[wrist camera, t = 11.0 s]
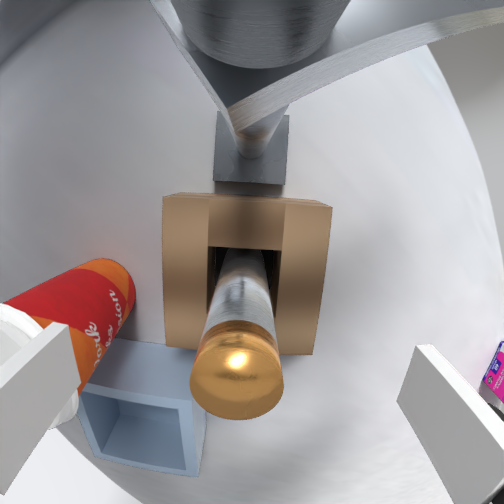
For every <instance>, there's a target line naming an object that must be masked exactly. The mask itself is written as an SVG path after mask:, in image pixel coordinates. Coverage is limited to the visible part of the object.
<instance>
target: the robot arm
mask: <svg viewBox="0 0 504 504" xmlns="http://www.w3.org/2000/svg"><path fill="white" fill-rule="evenodd" d="M80 384H81V380H80V376H79V372H78V368H77V364H76V360H75V355H74V351H73V346H72V342H71V337H70V332H69V326H68V325H66V324H61V323H56V322H52V323H51V324H50V325H49V326H47V327H46V328H45V329H44V330H43V331H41V332H40V333H39V334H38V335H37V336H35V337H34V338H33V339H32V340H31V341H30V342H28V343H27V344H26V345H25V346H24V347H22V348H21V349H20V350H19V351H18V352H17V353H16V354H14V355H13V356H12V357H11V358H10V359H9V360H8V361H6V362H5V363H4V364H3V365H2V366H1V367H0V494H2V495H5V493H6V491H7V490H8V488H9V487H10V485H11V483H12V482H13V480H14V479H15V477H16V476H17V474H18V472H19V471H20V469H21V468H22V466H23V465H24V463H25V462H26V460H27V459H28V457H29V456H30V454H31V453H32V451H33V450H34V448H35V447H36V445H37V444H38V442H39V441H40V439H41V438H42V437H43V435H44V434H45V432H46V431H47V429H48V428H49V427H50V425H51V424H52V422H53V421H54V419H55V418H56V417H57V415H58V414H59V412H60V411H61V410H62V408H63V407H64V406H65V404H66V403H67V401H68V400H69V399H70V397H71V396H72V395H73V393H74V392H75V391H76V389H77V388H78V386H79V385H80ZM397 403H398V404H399V406H400V408H401V410H402V411H403V413H404V415H405V416H406V418H407V420H408V421H409V423H410V425H411V427H412V428H413V430H414V432H415V434H416V435H417V437H418V439H419V440H420V442H421V444H422V446H423V448H424V449H425V451H426V453H427V455H428V456H429V458H430V460H431V462H432V464H433V465H434V467H435V469H436V471H437V473H438V475H439V476H440V478H441V480H442V482H443V484H444V486H445V488H446V489H447V491H448V493H449V495H450V497H451V499H452V501H453V503H454V504H489V503H490V502H492V503H493V504H504V414H503V413H502V412H501V411H500V410H499V409H498V408H496V407H494V406H493V405H491V404H490V403H486V402H485V401H484V399H483V398H482V397H481V396H480V395H479V394H478V393H477V392H476V391H475V390H474V388H473V387H472V386H471V385H470V384H469V383H468V382H467V381H466V380H465V379H464V378H463V377H462V376H461V374H460V373H459V372H458V371H457V370H456V369H455V368H454V367H453V366H452V365H451V364H450V363H449V362H448V361H447V360H446V359H445V358H444V357H443V356H442V355H441V354H440V353H439V352H438V351H437V349H436V348H435V347H434V346H433V345H432V344H426V345H416V346H415V350H414V353H413V356H412V359H411V362H410V365H409V368H408V371H407V374H406V377H405V379H404V382H403V385H402V388H401V390H400V393H399V395H398V398H397Z"/></svg>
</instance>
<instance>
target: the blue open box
mask: <svg viewBox="0 0 504 504" xmlns="http://www.w3.org/2000/svg"><path fill="white" fill-rule="evenodd" d="M196 354H197V350H194V349H184V348H174V347H166V345H165V344H156V343H148V342H141V341H134V340H127V339H120V338H114V339H113V341H112V342H111V344H110V345H109V347H108V349H107V350H106V352H105V354H104V355H103V357H102V358H101V360H100V362H99V363H98V365H97V367H96V368H95V370H94V372H93V373H92V375H91V377H90V378H89V380H88V382H87V383H86V385H85V387H84V389H83V390H82V392H81V394H80V396H79V397H78V398H79V404H78V409H77V414H78V417H79V420H80V422H81V425H82V428H83V430H84V433H85V435H86V437H87V440H88V442H89V445H90V447H91V449H92V451H93V454H94V456H95V457H98V458H101V459H105V460H109V461H112V462H116V463H120V464H124V465H128V466H133V467H137V468H142V469H147V470H152V471H157V472H163V473H169V474H176V475H182V476H190V477H199V470H200V464H201V457H202V451H203V444H204V438H205V431H206V410H204V409H203V408H202V407H201V406H200V405H199V404H198V403H197V402H196V401H195V399H194V398H193V396H192V394H191V391H190V386H189V380H190V375H191V371H192V368H193V364H194V361H195V357H196Z"/></svg>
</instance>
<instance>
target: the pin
mask: <svg viewBox="0 0 504 504" xmlns="http://www.w3.org/2000/svg"><path fill="white" fill-rule="evenodd" d="M189 386H190V391H191V394H192V396H193V398H194V399H195V401H196V402H197V403H198V404H199V405H200V406H201V407H202V408H203V409H204V410H206V411H207V412H209V413H211V414H213V415H215V416H218V417H221V418H224V419H230V420H247V419H252V418H256V417H259V416H261V415H263V414H265V413H267V412H268V411H270V410H271V409H272V408H273V407H275V406H276V404H277V403H278V402H279V400H280V399H281V396H282V393H283V388H284V384H283V376H282V370H281V364H280V357H279V351H278V344H277V338H276V332H275V325H274V319H273V313H272V307H271V300H270V294H269V288H268V282H267V276H266V270H265V264H264V257H263V254H262V252H261V251H260V249H248V248H231V247H230V248H229V250H228V251H227V253H226V255H225V258H224V262H223V265H222V268H221V272H220V275H219V278H218V282H217V285H216V288H215V292H214V295H213V298H212V302H211V305H210V309H209V312H208V315H207V319H206V322H205V326H204V329H203V333H202V336H201V340H200V343H199V347H198V350H197V354H196V357H195V361H194V364H193V368H192V371H191V375H190V380H189Z"/></svg>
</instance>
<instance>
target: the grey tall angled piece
mask: <svg viewBox="0 0 504 504" xmlns="http://www.w3.org/2000/svg"><path fill="white" fill-rule="evenodd" d="M149 1H150V3H151V4H152V6H153V7H154V9H155V11H156V12H157V14H158V16H159V17H160V19H161V21H162V22H163V24H164V26H165V27H166V29H167V31H168V32H169V34H170V36H171V37H172V39H173V41H174V42H175V44H176V46H177V47H178V49H179V51H180V52H181V53H182V55H183V56H184V58H185V59H186V61H187V62H188V63H189V65H190V66H191V68H192V69H193V71H194V72H195V74H196V75H197V77H198V78H199V79H200V81H201V82H202V84H203V85H204V87H205V88H206V90H207V91H208V93H209V94H210V96H211V97H212V99H213V100H214V102H215V103H216V105H217V106H218V108H219V109H220V111H221V112H222V114H223V116H224V118H225V120H226V123H227V125H228V127H229V130H230V132H231V134H232V136H233V139H234V141H235V143H236V146H237V148H238V150H239V152H240V154H241V155H242V156H243V157H245V158H247V159H255V158H258V157H259V156H261V154H262V153H263V151H264V150H265V148H266V146H267V144H268V142H269V140H270V138H271V137H272V135H273V133H274V131H275V129H276V128H277V126H278V124H279V122H280V120H281V118H282V117H283V115H284V113H285V111H286V110H287V108H288V106H289V104H290V103H292V102H294V101H296V100H297V99H299V98H301V97H303V96H305V95H307V94H309V93H311V92H313V91H315V90H317V89H319V88H322V87H324V86H326V85H328V84H330V83H332V82H334V81H336V80H338V79H341V78H343V77H345V76H347V75H349V74H352V73H354V72H356V71H359V70H361V69H363V68H365V67H368V66H370V65H373V64H375V63H377V62H380V61H382V60H385V59H387V58H390V57H392V56H395V55H398V54H400V53H403V52H406V51H408V50H411V49H414V48H417V47H419V46H422V45H425V44H428V43H431V42H434V41H437V40H440V39H443V38H447V37H450V36H453V35H456V34H460V33H463V32H467V31H470V30H474V29H478V28H481V27H486V26H490V25H494V24H498V23H503V22H504V0H149Z"/></svg>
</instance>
